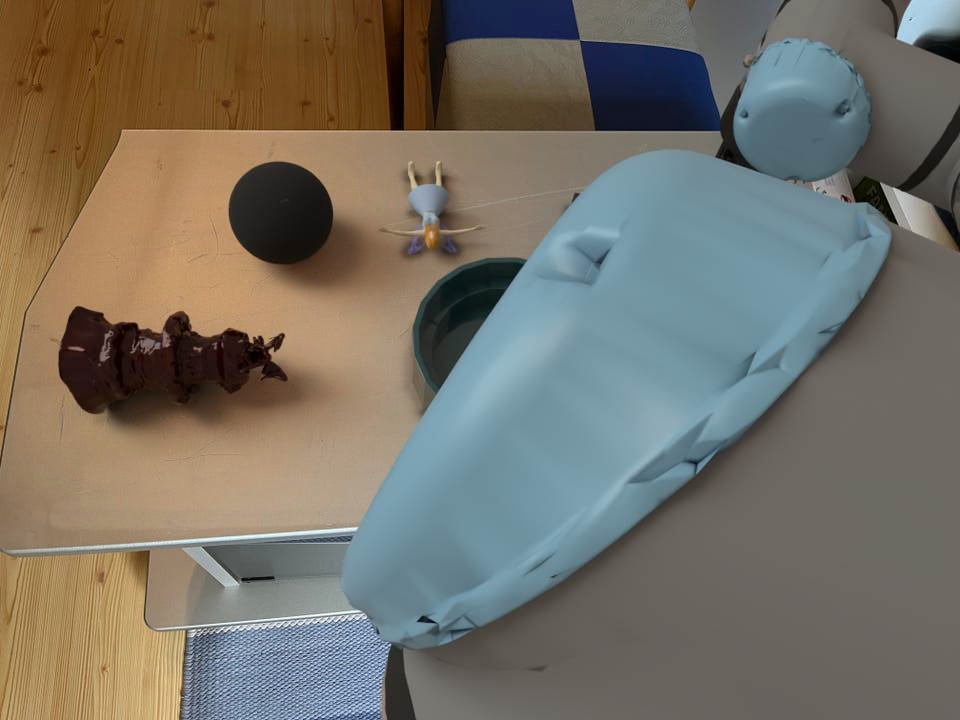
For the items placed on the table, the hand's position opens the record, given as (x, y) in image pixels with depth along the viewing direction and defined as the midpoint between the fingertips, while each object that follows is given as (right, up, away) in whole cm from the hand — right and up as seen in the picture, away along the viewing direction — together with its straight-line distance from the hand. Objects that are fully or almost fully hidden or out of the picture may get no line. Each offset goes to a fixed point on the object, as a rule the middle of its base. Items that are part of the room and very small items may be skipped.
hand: (681, 270), depth 80 cm
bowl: (-19, -10, -6) cm, 23 cm away
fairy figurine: (-27, +6, +2) cm, 28 cm away
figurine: (-48, -11, -10) cm, 51 cm away
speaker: (-42, +2, -2) cm, 42 cm away
